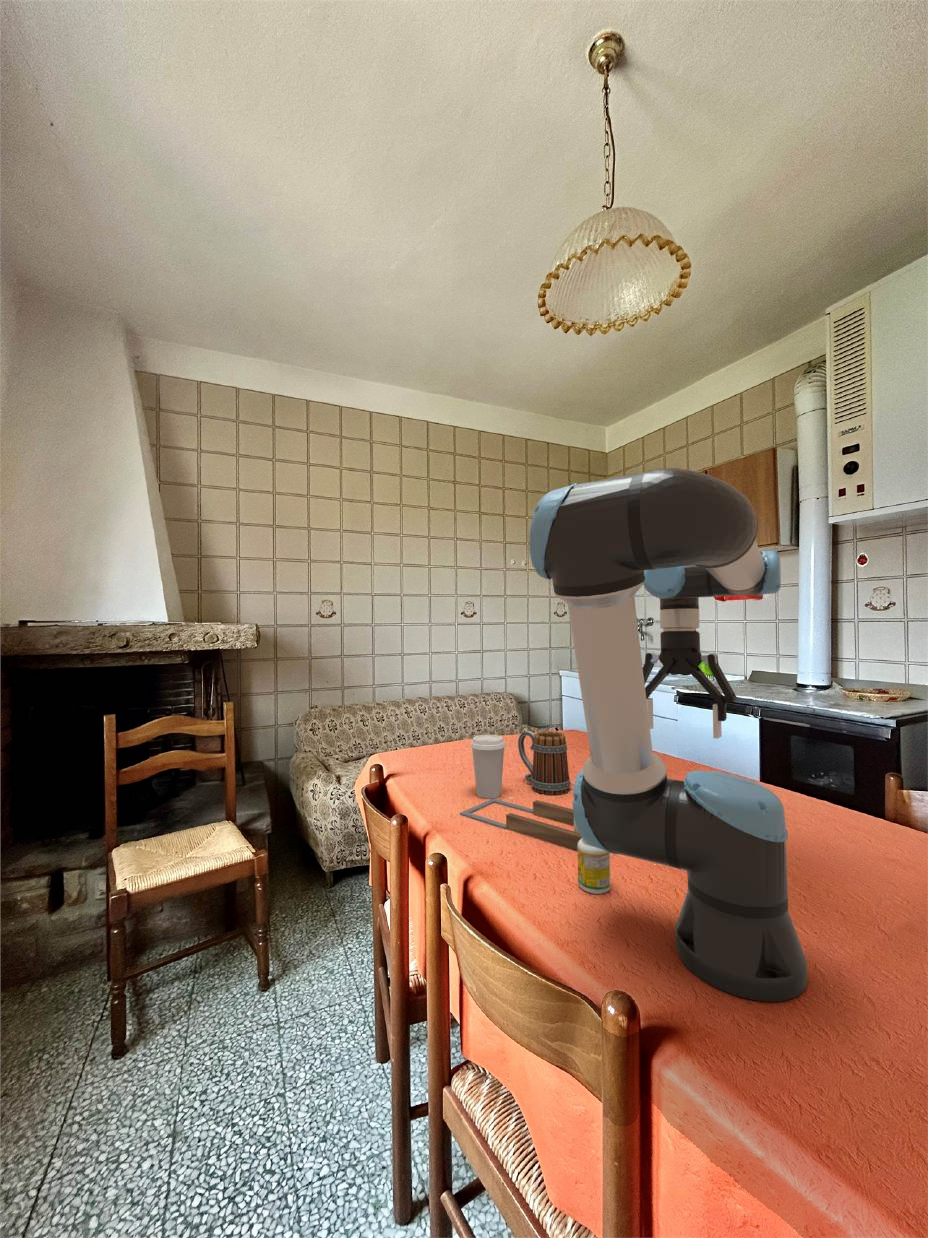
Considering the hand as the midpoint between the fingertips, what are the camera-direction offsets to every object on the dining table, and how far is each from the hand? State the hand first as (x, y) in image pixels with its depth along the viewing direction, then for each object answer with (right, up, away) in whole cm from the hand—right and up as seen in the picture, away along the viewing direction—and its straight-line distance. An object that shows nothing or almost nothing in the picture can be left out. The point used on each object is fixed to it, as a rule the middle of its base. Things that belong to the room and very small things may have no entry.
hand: (681, 733), depth 102 cm
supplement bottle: (-23, -22, -18) cm, 36 cm away
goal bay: (-36, -23, +15) cm, 45 cm away
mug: (-23, -23, +35) cm, 48 cm away
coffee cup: (-38, -23, +29) cm, 54 cm away
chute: (-23, -22, +4) cm, 33 cm away
